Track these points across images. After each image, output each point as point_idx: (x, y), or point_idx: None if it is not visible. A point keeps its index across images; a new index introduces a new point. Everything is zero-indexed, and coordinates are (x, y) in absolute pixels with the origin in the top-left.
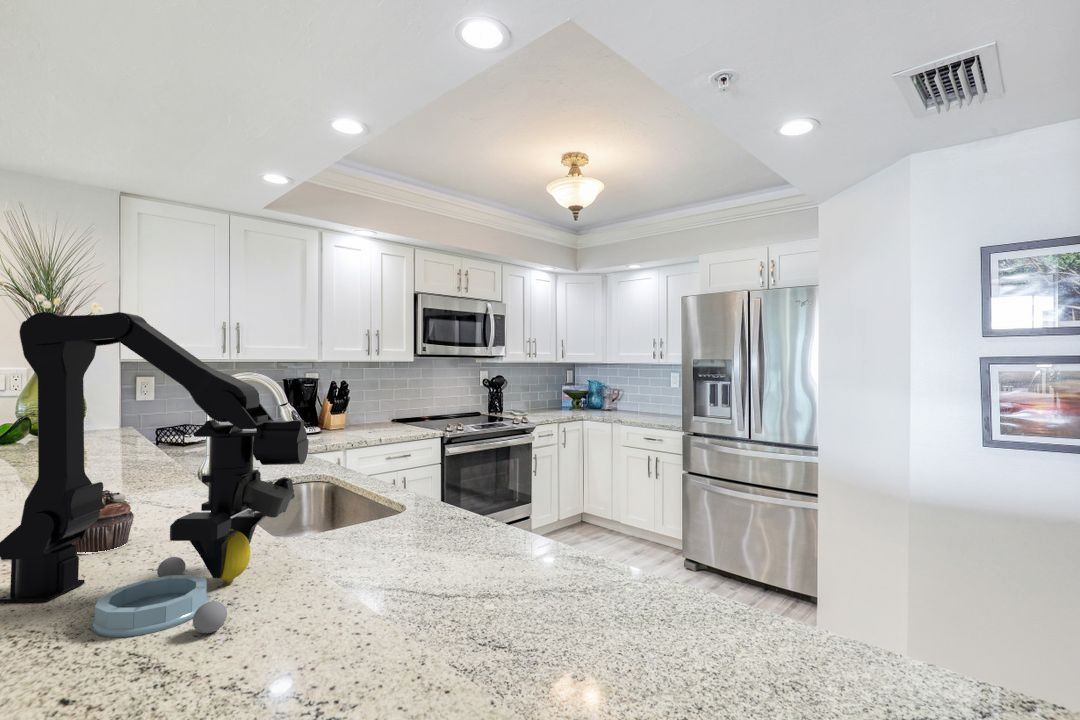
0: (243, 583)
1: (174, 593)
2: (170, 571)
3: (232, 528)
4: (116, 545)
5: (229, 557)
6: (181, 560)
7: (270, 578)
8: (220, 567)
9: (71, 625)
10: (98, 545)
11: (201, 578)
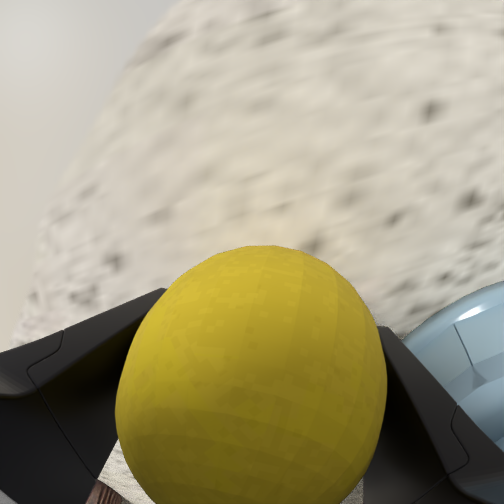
0: (298, 220)
1: None
2: None
3: (78, 472)
4: None
5: (383, 374)
6: None
7: (245, 105)
8: (419, 364)
9: None
10: (107, 497)
11: (453, 385)
